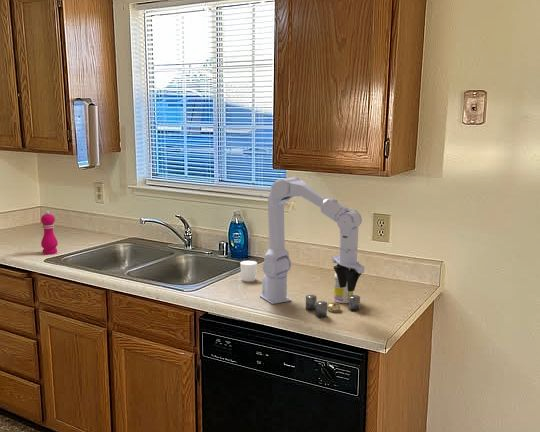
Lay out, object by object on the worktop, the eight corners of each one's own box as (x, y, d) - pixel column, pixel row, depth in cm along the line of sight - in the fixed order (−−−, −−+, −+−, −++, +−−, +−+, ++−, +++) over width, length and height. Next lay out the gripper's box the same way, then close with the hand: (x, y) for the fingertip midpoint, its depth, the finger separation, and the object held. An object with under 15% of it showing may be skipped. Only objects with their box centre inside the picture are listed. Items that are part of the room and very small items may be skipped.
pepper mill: (42, 255, 252) (39, 212, 248) (40, 252, 258) (37, 210, 254) (59, 253, 255) (56, 211, 252) (57, 250, 262) (54, 209, 258)
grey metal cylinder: (346, 308, 188) (347, 296, 187) (355, 306, 189) (355, 294, 189) (353, 311, 185) (353, 299, 184) (361, 310, 186) (362, 297, 185)
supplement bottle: (350, 297, 199) (352, 263, 197) (354, 303, 192) (355, 268, 190) (332, 297, 199) (333, 263, 196) (335, 303, 192) (336, 268, 190)
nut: (324, 309, 187) (324, 303, 187) (334, 307, 189) (335, 301, 189) (331, 313, 184) (332, 307, 183) (342, 311, 186) (342, 305, 185)
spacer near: (303, 308, 187) (303, 295, 187) (312, 306, 189) (312, 294, 188) (309, 311, 184) (309, 298, 184) (318, 309, 186) (318, 297, 185)
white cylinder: (236, 279, 220) (236, 262, 218) (249, 275, 224) (249, 259, 223) (247, 283, 215) (247, 265, 213) (260, 279, 219) (260, 262, 218)
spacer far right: (313, 315, 181) (314, 302, 180) (322, 313, 183) (323, 300, 182) (319, 318, 178) (320, 305, 177) (329, 316, 180) (329, 303, 179)
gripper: (372, 252, 172) (370, 293, 174) (344, 242, 184) (343, 281, 187) (354, 254, 168) (353, 296, 171) (327, 244, 181) (326, 284, 183)
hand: (346, 289), depth 179 cm, fingers open, 4 cm apart
